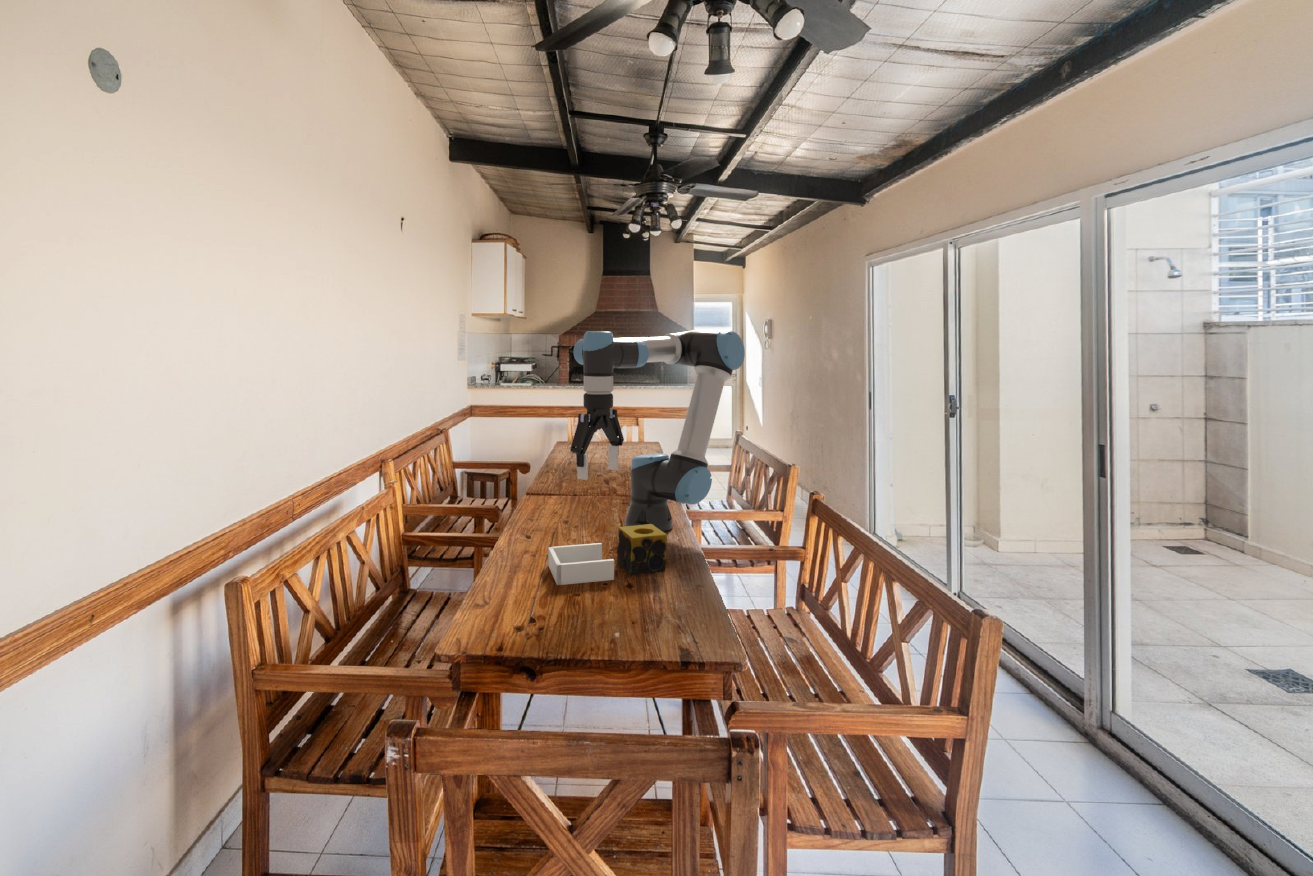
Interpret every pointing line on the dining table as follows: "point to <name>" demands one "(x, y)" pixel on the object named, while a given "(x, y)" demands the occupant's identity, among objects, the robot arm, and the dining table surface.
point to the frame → (579, 564)
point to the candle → (641, 549)
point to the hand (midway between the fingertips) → (598, 474)
